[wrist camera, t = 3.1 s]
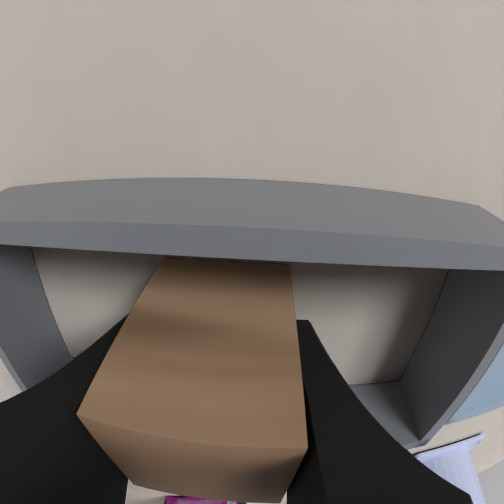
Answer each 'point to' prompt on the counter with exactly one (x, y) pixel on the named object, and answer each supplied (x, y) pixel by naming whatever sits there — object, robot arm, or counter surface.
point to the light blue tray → (484, 391)
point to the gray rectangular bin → (273, 249)
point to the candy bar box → (198, 501)
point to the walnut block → (205, 384)
